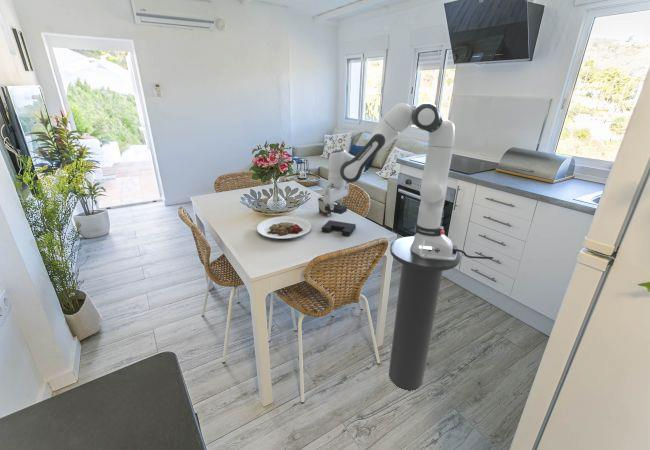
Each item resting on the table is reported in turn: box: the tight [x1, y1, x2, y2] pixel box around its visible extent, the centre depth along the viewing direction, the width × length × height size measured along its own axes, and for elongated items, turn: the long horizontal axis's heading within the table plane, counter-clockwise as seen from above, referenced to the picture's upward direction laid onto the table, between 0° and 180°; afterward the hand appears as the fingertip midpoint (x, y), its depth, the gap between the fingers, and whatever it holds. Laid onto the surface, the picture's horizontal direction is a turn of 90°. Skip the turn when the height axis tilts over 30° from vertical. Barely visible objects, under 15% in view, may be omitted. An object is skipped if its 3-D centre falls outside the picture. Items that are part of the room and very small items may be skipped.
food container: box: [317, 196, 332, 218], centre depth 198 cm, size 12×6×10 cm, turn 34°
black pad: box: [321, 219, 357, 237], centre depth 176 cm, size 16×12×2 cm
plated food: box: [256, 215, 312, 240], centre depth 174 cm, size 30×30×3 cm
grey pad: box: [325, 203, 348, 215], centre depth 165 cm, size 6×10×2 cm, turn 58°
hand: (335, 207), depth 165 cm, fingers closed on grey pad, 6 cm apart
